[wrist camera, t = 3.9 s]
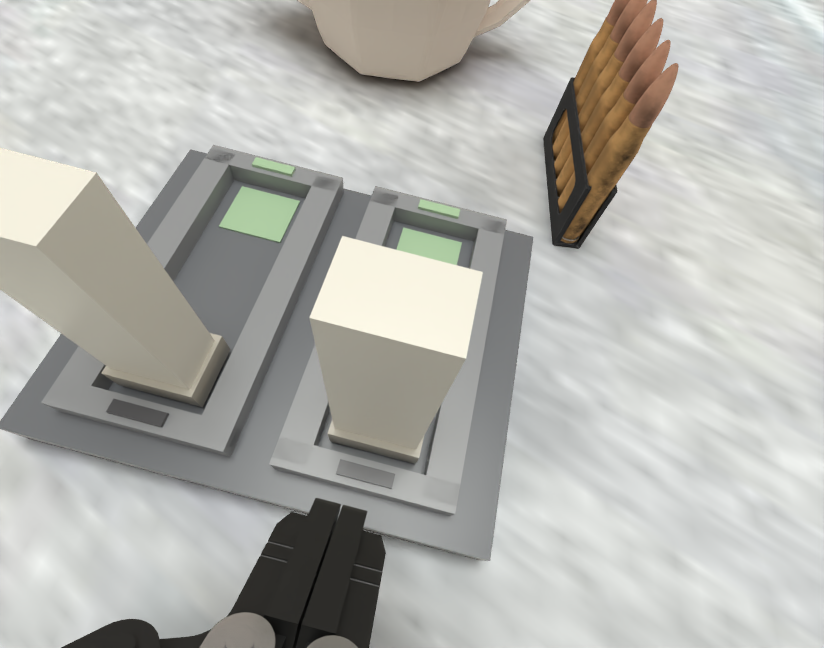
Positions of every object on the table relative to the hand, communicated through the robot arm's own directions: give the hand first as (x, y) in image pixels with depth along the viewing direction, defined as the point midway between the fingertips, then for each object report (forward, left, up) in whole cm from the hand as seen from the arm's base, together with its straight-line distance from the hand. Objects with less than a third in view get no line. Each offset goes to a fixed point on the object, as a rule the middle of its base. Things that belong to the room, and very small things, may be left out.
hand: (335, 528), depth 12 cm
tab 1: (+10, -5, -7) cm, 13 cm away
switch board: (+5, -9, -9) cm, 14 cm away
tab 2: (0, -5, -7) cm, 8 cm away
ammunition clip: (-8, -25, -9) cm, 28 cm away
